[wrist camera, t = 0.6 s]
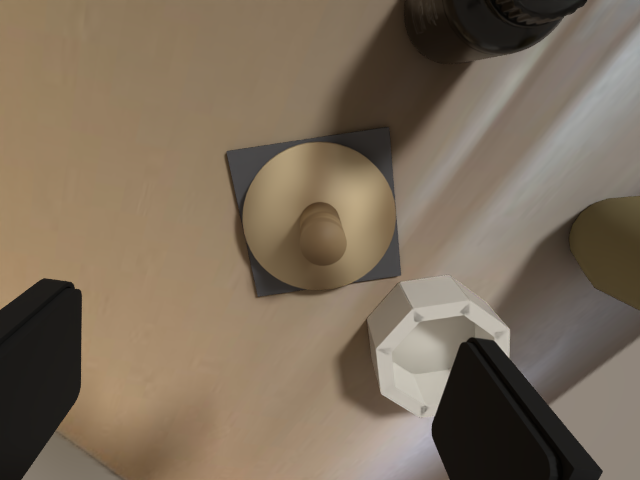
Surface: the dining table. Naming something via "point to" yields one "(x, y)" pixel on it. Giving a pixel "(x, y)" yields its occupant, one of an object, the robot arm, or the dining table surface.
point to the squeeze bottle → (610, 247)
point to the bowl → (427, 338)
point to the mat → (254, 158)
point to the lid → (319, 216)
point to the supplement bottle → (481, 26)
